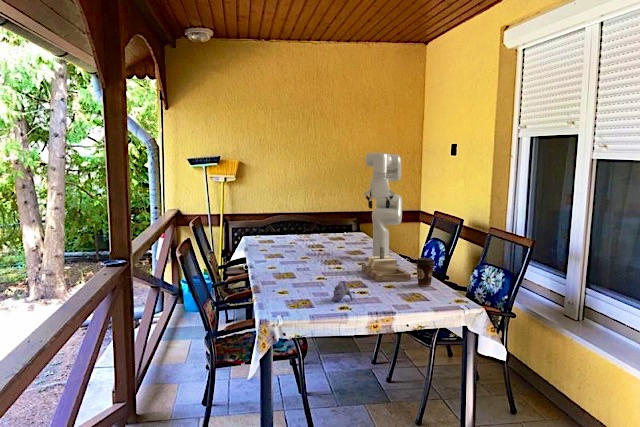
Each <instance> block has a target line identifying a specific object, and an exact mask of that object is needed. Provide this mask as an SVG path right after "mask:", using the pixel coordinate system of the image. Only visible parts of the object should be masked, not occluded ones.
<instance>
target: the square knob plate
mask: <svg viewBox="0 0 640 427" xmlns="http://www.w3.org/2000/svg"><path fill="white" fill-rule="evenodd" d="M384 249H385V247H380V256H373V255H372V256H367V262H366V263H367V264H366V265H367V266H368V267H370V268H372V269H373V270H375V271H376V272H378V273H380V274H394V273H397V267H398V260H397V259H395V258H393V257H392V256H390V255H389V256H384Z"/></svg>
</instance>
